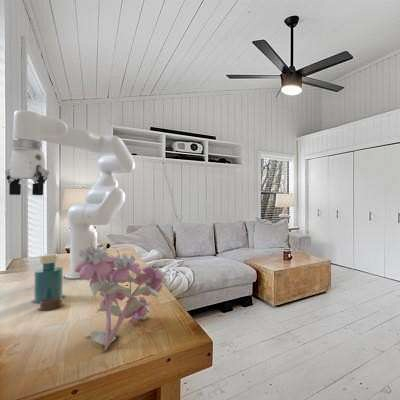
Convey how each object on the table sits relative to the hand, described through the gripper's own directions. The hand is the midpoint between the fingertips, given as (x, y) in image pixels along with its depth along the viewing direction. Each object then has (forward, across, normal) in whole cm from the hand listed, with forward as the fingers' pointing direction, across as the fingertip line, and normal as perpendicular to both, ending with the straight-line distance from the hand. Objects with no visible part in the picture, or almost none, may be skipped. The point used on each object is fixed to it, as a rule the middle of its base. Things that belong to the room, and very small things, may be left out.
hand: (26, 194), depth 103 cm
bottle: (+35, -13, +2) cm, 37 cm away
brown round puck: (+35, -21, +8) cm, 42 cm away
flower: (+36, -54, +16) cm, 67 cm away
